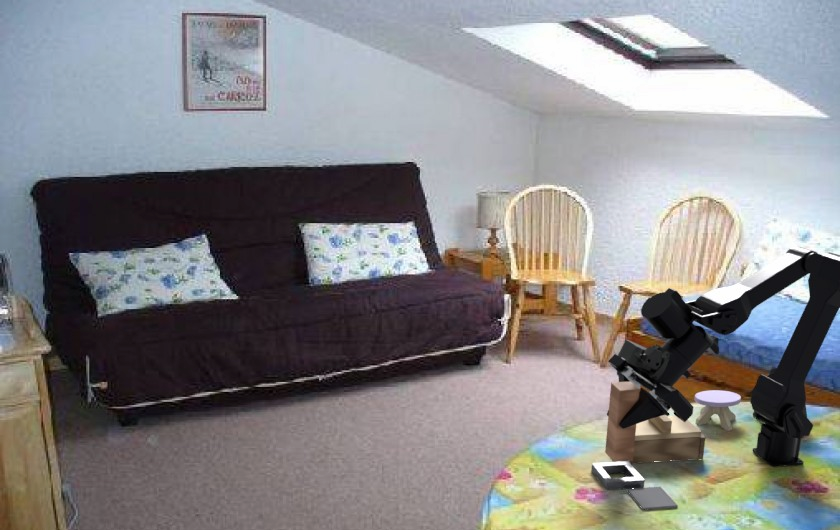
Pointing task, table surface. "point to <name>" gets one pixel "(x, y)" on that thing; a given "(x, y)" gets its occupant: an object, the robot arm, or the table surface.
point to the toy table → (717, 406)
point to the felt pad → (652, 498)
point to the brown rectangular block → (617, 437)
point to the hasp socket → (617, 483)
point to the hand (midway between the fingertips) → (614, 421)
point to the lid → (665, 429)
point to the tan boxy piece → (668, 449)
